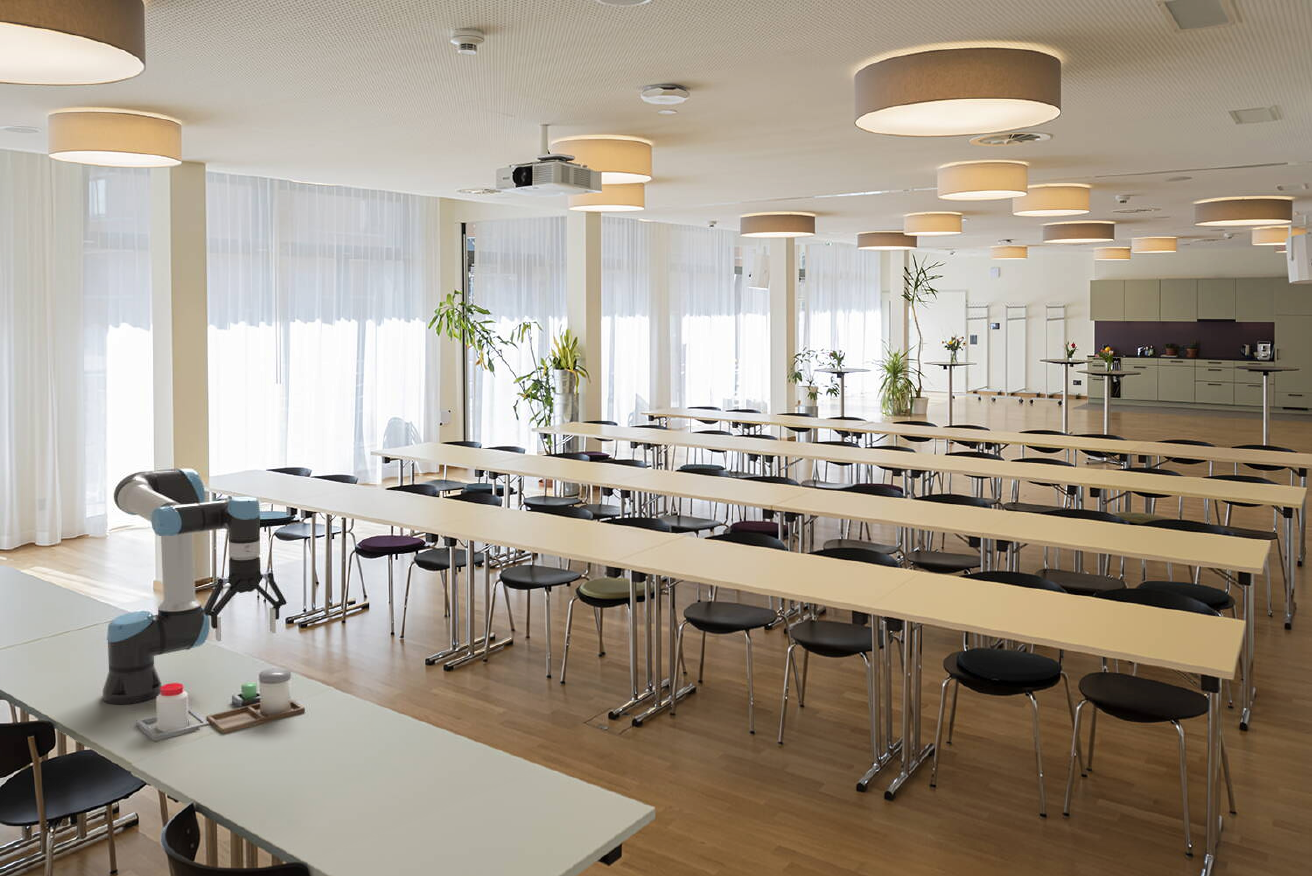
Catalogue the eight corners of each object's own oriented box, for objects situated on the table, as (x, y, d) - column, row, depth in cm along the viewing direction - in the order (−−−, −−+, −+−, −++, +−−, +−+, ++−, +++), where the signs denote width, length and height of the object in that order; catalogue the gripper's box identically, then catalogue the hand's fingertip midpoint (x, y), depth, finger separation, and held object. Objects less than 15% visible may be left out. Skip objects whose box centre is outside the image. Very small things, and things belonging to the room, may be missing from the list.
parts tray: (136, 724, 267) (136, 720, 267) (190, 711, 277) (190, 707, 277) (154, 741, 257) (153, 736, 257) (209, 727, 267) (209, 722, 267)
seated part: (254, 710, 277) (254, 672, 276) (283, 703, 283) (282, 666, 282) (267, 719, 271) (266, 680, 270) (296, 711, 277) (295, 673, 276)
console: (232, 705, 283) (231, 694, 282) (256, 699, 287) (256, 689, 287) (242, 712, 278) (241, 702, 277) (266, 706, 282) (266, 696, 282)
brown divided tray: (206, 723, 270) (206, 715, 269) (286, 702, 285) (286, 696, 285) (223, 736, 262) (222, 729, 261) (304, 714, 277) (304, 708, 277)
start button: (239, 698, 282) (239, 684, 282) (253, 695, 285) (253, 681, 285) (245, 702, 279) (244, 688, 279) (259, 699, 282) (258, 685, 282)
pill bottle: (176, 733, 263) (174, 693, 261) (150, 730, 264) (149, 690, 263) (195, 722, 270) (194, 683, 269) (169, 719, 272) (168, 680, 270)
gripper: (196, 565, 248) (197, 647, 251) (297, 554, 263) (298, 632, 265) (189, 559, 254) (191, 639, 257) (289, 548, 269) (290, 624, 271)
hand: (246, 635), depth 261 cm, fingers open, 13 cm apart
